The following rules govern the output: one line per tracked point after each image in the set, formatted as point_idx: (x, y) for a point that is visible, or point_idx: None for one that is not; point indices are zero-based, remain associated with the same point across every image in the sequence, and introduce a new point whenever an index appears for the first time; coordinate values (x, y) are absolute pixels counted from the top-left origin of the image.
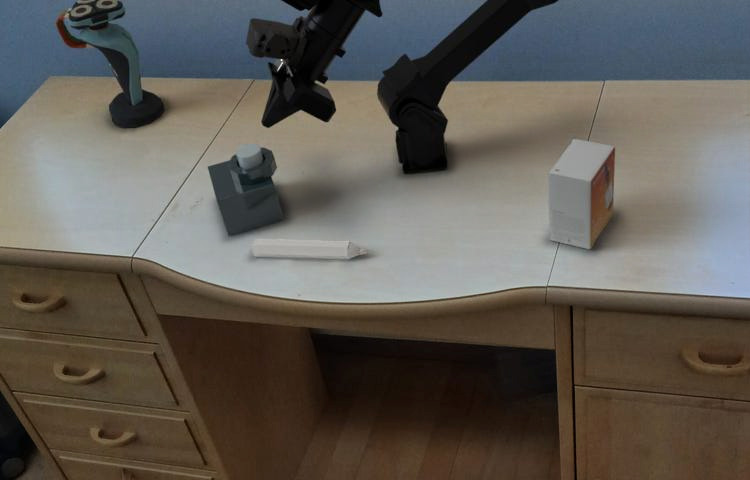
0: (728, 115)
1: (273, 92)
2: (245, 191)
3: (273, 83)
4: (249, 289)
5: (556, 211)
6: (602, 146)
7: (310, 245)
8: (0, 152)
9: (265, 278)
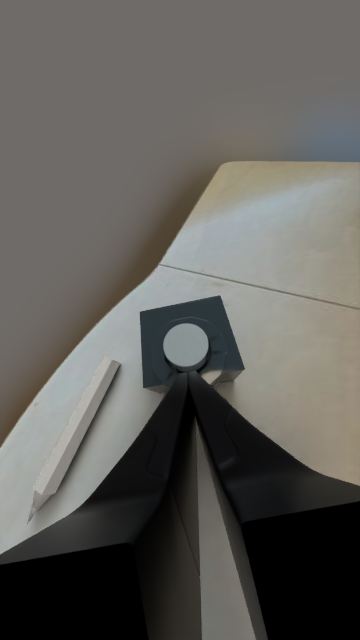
0: None
1: (209, 451)
2: (144, 345)
3: (262, 478)
4: (72, 355)
5: None
6: None
7: (65, 428)
8: (320, 167)
9: (78, 370)
